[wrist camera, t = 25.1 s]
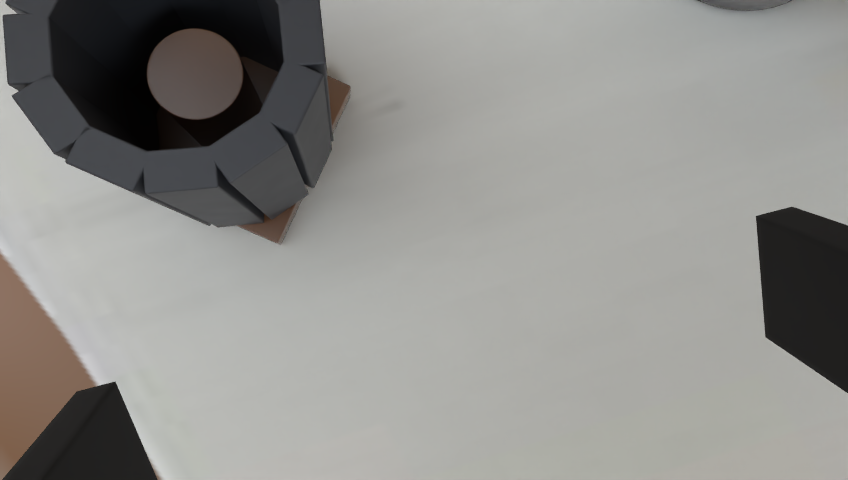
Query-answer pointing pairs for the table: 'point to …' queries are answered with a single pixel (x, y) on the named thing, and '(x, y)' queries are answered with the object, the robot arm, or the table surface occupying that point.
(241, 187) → the ribbed pencil cup
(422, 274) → the table surface
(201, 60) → the peg
